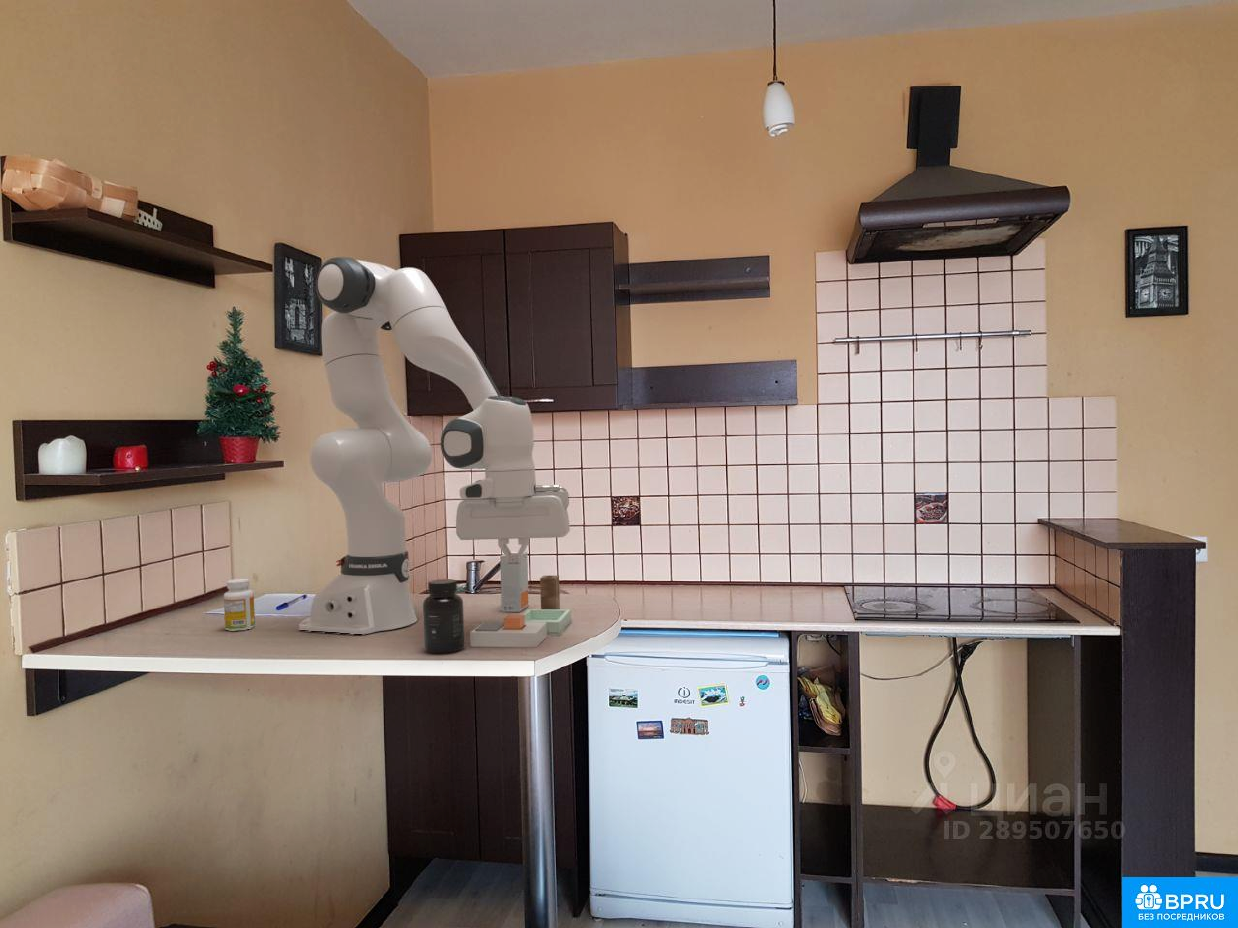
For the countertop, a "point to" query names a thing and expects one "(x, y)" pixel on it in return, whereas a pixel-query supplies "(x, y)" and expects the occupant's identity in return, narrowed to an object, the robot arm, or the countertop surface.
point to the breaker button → (514, 622)
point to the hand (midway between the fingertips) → (514, 563)
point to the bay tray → (550, 619)
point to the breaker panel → (508, 635)
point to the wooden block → (550, 592)
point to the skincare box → (514, 585)
